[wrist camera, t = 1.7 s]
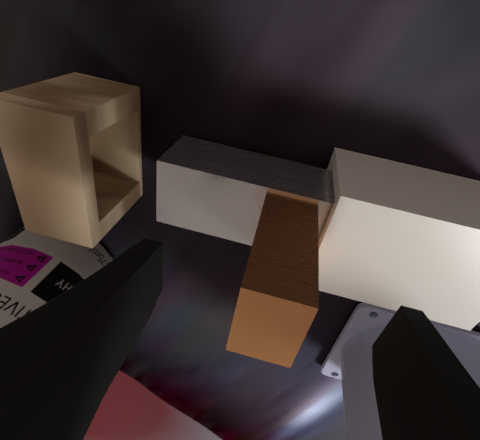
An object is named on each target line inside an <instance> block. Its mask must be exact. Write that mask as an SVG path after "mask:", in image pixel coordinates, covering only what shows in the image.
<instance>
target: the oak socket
mask: <svg viewBox="0 0 480 440" xmlns="http://www.w3.org/2000/svg"><path fill="white" fill-rule="evenodd" d="M0 147H1V150H2V154H3V157H4V160H5V164H6V167H7V170H8V174H9V177H10V180H11V184H12V187H13V190H14V193H15V197H16V200H17V203H18V207H19V210H20V213H21V217H22V220H23V223H24V226H25V230H26V231H30V232H34V233H37V234H41V235H45V236H48V237H52V238H56V239H59V240H63V241H67V242H70V243H74V244H78V245H82V246H85V247H89V248H94V247H95V246H96V244H97V243H98V242H99V241H100V240H101V239H102V238H103V237H104V236H105V235H106V234H107V233H108V232H109V230H110V229H111V228H112V227H113V226H114V225H115V224H116V223H117V222H118V221H119V220H120V219H121V218H122V216H123V215H124V214H125V213H126V212H127V211H128V210H129V209H130V208H131V207H132V206H133V205H134V204H135V202H136V201H137V200H138V199H139V198H140V197H141V196H142V195H143V191H142V149H141V106H140V87H138V86H133V85H129V84H125V83H120V82H116V81H112V80H107V79H103V78H98V77H94V76H90V75H85V74H81V73H76V72H73V73H70V74H66V75H62V76H59V77H55V78H51V79H48V80H44V81H40V82H36V83H33V84H29V85H25V86H22V87H18V88H14V89H11V90H7V91H3V92H0Z"/></svg>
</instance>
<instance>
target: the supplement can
mask: <svg viewBox="0 0 480 440" xmlns="http://www.w3.org/2000/svg"><path fill="white" fill-rule="evenodd" d="M112 260H113V258H112V257H111V256H110V254H109V253H108V252H107V251H106V250H105V249H104V247H103V246H102V245H101V244H99V243H97V244H96V246H95V247H94V248H89V247H85V246H82V245H78V244H74V243H70V242H67V241H63V240H59V239H56V238H52V237H48V236H45V235H41V234H37V233H34V232H30V231H26V230H25V226H24V227H22V228H21V229H20V230H18V231H17V232H16V233H14V234H13V235H12V236H10V237H9V238H8V239H6V240H5V241H4V242H2V243H1V244H0V328H1V327H3V326H5V325H7V324H9V323H11V322H13V321H15V320H16V319H18V318H20V317H22V316H24V315H26V314H28V313H29V312H31V311H33V310H35V309H37V308H38V307H40V306H42V305H44V304H45V303H47V302H49V301H50V300H52V299H54V298H55V297H57V296H59V295H60V294H62V293H64V292H65V291H67V290H68V289H70V288H72V287H73V286H75V285H77V284H78V283H80V282H81V281H83V280H84V279H86V278H87V277H89V276H90V275H92V274H93V273H95V272H96V271H98V270H99V269H101V268H102V267H104V266H105V265H107V264H108V263H109V262H111V261H112Z"/></svg>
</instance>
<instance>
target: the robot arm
mask: <svg viewBox="0 0 480 440" xmlns="http://www.w3.org/2000/svg"><path fill="white" fill-rule="evenodd" d="M162 280H163V243H161V242H157V241H153V240H150V239H146V238H144V239H142V240H140V241H139V242H138V243H136V244H135V245H133V246H132V247H131V248H129V249H128V250H126V251H125V252H124V253H122V254H121V255H119V256H118V257H117V258H115V259H114V260H112V261H111V262H109V263H108V264H107V265H105V266H104V267H102V268H101V269H99V270H98V271H96V272H95V273H93V274H92V275H90V276H89V277H87V278H86V279H84V280H83V281H81V282H80V283H78V284H77V285H75V286H73V287H72V288H70V289H68V290H67V291H65V292H64V293H62V294H60V295H59V296H57V297H55V298H54V299H52V300H50V301H49V302H47V303H45V304H44V305H42V306H40V307H38V308H37V309H35V310H33V311H31V312H29V313H28V314H26V315H24V316H22V317H20V318H18V319H16V320H15V321H13V322H11V323H9V324H7V325H5V326H3V327H1V328H0V440H83V439H84V436H85V434H86V432H87V430H88V428H89V426H90V424H91V422H92V420H93V418H94V415H95V413H96V411H97V409H98V407H99V405H100V403H101V401H102V399H103V397H104V395H105V393H106V392H107V390H108V388H109V386H110V384H111V382H112V381H113V379H114V377H115V375H116V374H117V372H118V371H119V369H120V367H121V366H122V364H123V362H124V360H125V359H126V357H127V355H128V354H129V352H130V350H131V349H132V347H133V345H134V343H135V342H136V340H137V338H138V337H139V335H140V333H141V331H142V330H143V328H144V326H145V325H146V323H147V321H148V319H149V318H150V315H151V313H152V311H153V309H154V307H155V304H156V302H157V300H158V297H159V295H160V293H161V290H162ZM371 312H374V313H371ZM321 372H322V373H323V374H324V375H326V376H330V377H333V378H337V379H340V380H342V390H343V406H344V421H345V437H346V440H480V333H479V332H475V331H469V330H465V329H461V328H458V327H454V326H450V325H446V324H443V323H439V322H435V321H431V320H429V319H428V317H427V316H426V315H425V314H424V312H423V311H421V310H417V309H413V308H409V307H405V306H402V305H401V306H400V307H399V309H398V310H397V311H394V310H390V309H386V308H383V307H379V306H375V305H371V304H367V303H360V304H358V305H357V306H356V308H355V310H354V311H353V313H352V315H351V316H350V318H349V320H348V321H347V323H346V325H345V327H344V328H343V330H342V332H341V333H340V335H339V337H338V338H337V340H336V342H335V344H334V345H333V347H332V349H331V350H330V352H329V354H328V355H327V357H326V359H325V361H324V362H323V364H322V366H321Z"/></svg>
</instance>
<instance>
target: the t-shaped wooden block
mask: <svg viewBox="0 0 480 440" xmlns="http://www.w3.org/2000/svg"><path fill="white" fill-rule="evenodd" d="M334 202H335V193H334V182H333V171H332V170H328V169H323V168H319V167H315V166H311V165H307V164H302V163H298V162H294V161H290V160H285V159H281V158H277V157H273V156H269V155H264V154H260V153H256V152H252V151H248V150H243V149H239V148H235V147H231V146H227V145H222V144H218V143H214V142H210V141H206V140H201V139H197V138H193V137H189V136H184V135H183V136H182V137H181V138H180V139H179V140H178V141H177V142H175V143H174V144H173V145H172V146H171V147H170V148H169V149H168V150H167V151H166V152H165V153H164V154H163V155H162V156H161V157H160V158H159V159H158V160H157V199H156V221H158V222H162V223H166V224H170V225H174V226H177V227H181V228H185V229H189V230H193V231H197V232H201V233H204V234H208V235H212V236H216V237H220V238H224V239H228V240H231V241H235V242H239V243H243V244H247V245H251V246H252V248H251V251H250V255H249V259H248V262H247V266H246V270H245V273H244V277H243V281H242V284H241V288H240V292H239V296H238V300H237V305H236V309H235V313H234V317H233V321H232V325H231V330H230V334H229V338H228V342H227V346H226V350H229V351H232V352H236V353H239V354H243V355H246V356H250V357H253V358H257V359H260V360H264V361H267V362H271V363H274V364H278V365H281V366H285V367H288V368H290V367H291V365H292V363H293V361H294V359H295V357H296V355H297V353H298V351H299V349H300V347H301V344H302V342H303V340H304V338H305V336H306V334H307V332H308V330H309V328H310V326H311V324H312V322H313V320H314V318H315V315H316V313H317V311H318V309H319V243H318V242H319V240H320V237H321V235H322V232H323V230H324V227H325V225H326V222H327V220H328V217H329V215H330V212H331V210H332V207H333V205H334Z"/></svg>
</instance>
